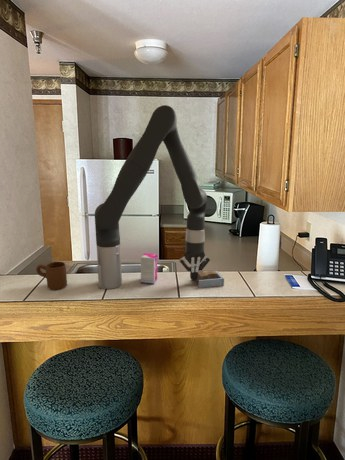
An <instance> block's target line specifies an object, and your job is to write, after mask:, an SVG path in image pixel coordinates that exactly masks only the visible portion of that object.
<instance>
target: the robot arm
mask: <svg viewBox="0 0 345 460" xmlns="http://www.w3.org/2000/svg"><path fill="white" fill-rule="evenodd" d="M177 123H178V117H177V113H176V111H175V109H174V108H173V107H171V106H170V105H160V106H158V107H157V108H155V109H154V111H153V112H152V114H151V116H150V119H149V121H148V124H146V128H145V130H144V132H143V133H142V135H141V136H140V138H139V140H138V141H137V143H136V144H135V145H134V147H133V149H132V150H131V152H130V153H129V154H128V156H127V158H126V160H125V161H124V162H123V165H122V166H121V168H120V170H119V172H118V174H117V177H116V179H115V182H114V184H113V187H112V190H111V191H110V193H109V195H108V196H107V198H106V199H105V201H104V202H103V203H101V204H98V206H97V207H96V208H95V210H94V225H95V227H94V228H95V243H96V244H95V245H96V259H97V260H96V261H97V277H98V278H97V281H98V289H105V290H112V289H113V290H114V289H116V288H119V287H121V286H122V284H123V279H122V256H121V254H122V253H121V236H120V235H121V233H120V224H119V223H120V220H121V218H122V215H123V213H124V211H125V209H126V207H127V205H128V204H129V201H130V200H131V198H132V197H134V196H133V195H134V194H135V193H136V191H137V190H138V188H139V187H140V185H141V184H142V183H143V181H144V180H145V178H146V177H147V175H148V172H150V169H151V166H152V165H153V163H154V160H155V157H156V155H157V154H158V153H157V152H158V150H159V148H160V146H161V144H162V143H163V144H164V146H165V149H166V150H167V152H168V155H169V157H170V160H171V163H172V167H173V169H174V172H175V174H176V176H177V179H178V181H179V183H180V187H181V192H182V196H183V199H184V201H185V203H186V205H187V206H188V207H189V212H188V215H187V216H186V217H187V218H186V230H185V246H184V247H185V248H184V249H185V251H184V254H183V256H182V257H181V258H178V261H179V263H180V264H181V265H182V267H183V268H185V270H186V271H187V272H189V278H190V280H192V282H193V281H194V282H195V281H196V279H197V278H198V271H204V268H205V267H206V266H207V264H208V263H209V262H210V261H211V259H210V258H209V256H207V255H206V254H205V240H206V238H205V237H206V232H205V226H206V225H205V224H206V223H205V218H206V211H207V204H208V195H207V193H206V191H205V190H204V189H202V188H200V187H199V184H198V175H197V172H196V169H195V168H194V167H195V166H194V165H193V162H192V160H191V158H190V156H189V155H188V153H187V150H186V149H185V147H184V144H183V142H182V140H181V138H180V134H179V130H178V126H177ZM186 261H187V262H188V264H189V266H188V265H187V263H186Z"/></svg>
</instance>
